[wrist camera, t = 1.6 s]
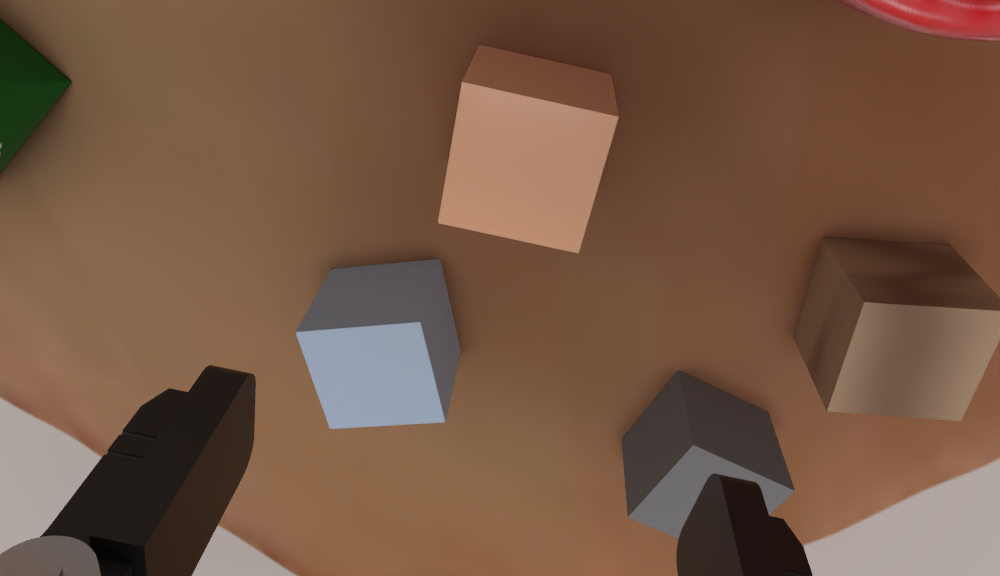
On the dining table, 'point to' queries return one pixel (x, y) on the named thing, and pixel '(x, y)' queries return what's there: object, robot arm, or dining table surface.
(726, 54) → the dining table surface
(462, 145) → the terracotta cube
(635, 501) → the charcoal cube
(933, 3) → the plant pot
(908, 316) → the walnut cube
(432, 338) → the slate blue cube
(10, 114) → the milk carton
